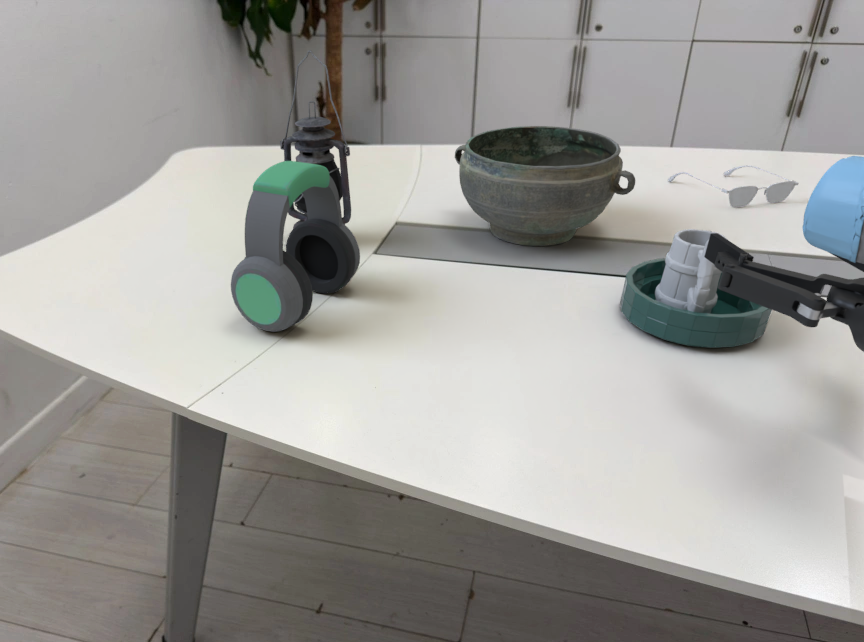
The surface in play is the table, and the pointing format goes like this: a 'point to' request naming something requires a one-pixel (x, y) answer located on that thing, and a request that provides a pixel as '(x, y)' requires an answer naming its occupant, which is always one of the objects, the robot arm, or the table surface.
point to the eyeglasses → (753, 190)
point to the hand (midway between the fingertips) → (769, 240)
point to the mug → (689, 273)
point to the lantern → (318, 153)
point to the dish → (689, 313)
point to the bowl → (540, 180)
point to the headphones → (292, 247)
